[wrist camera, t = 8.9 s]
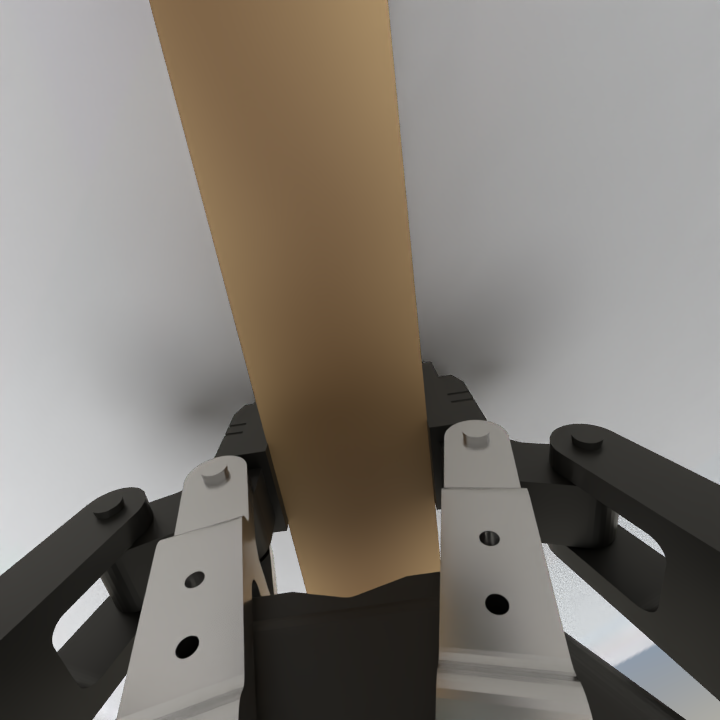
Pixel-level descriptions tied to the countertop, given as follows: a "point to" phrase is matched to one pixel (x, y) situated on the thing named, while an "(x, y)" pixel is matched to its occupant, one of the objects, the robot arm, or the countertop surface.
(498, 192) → the countertop surface
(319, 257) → the rod
